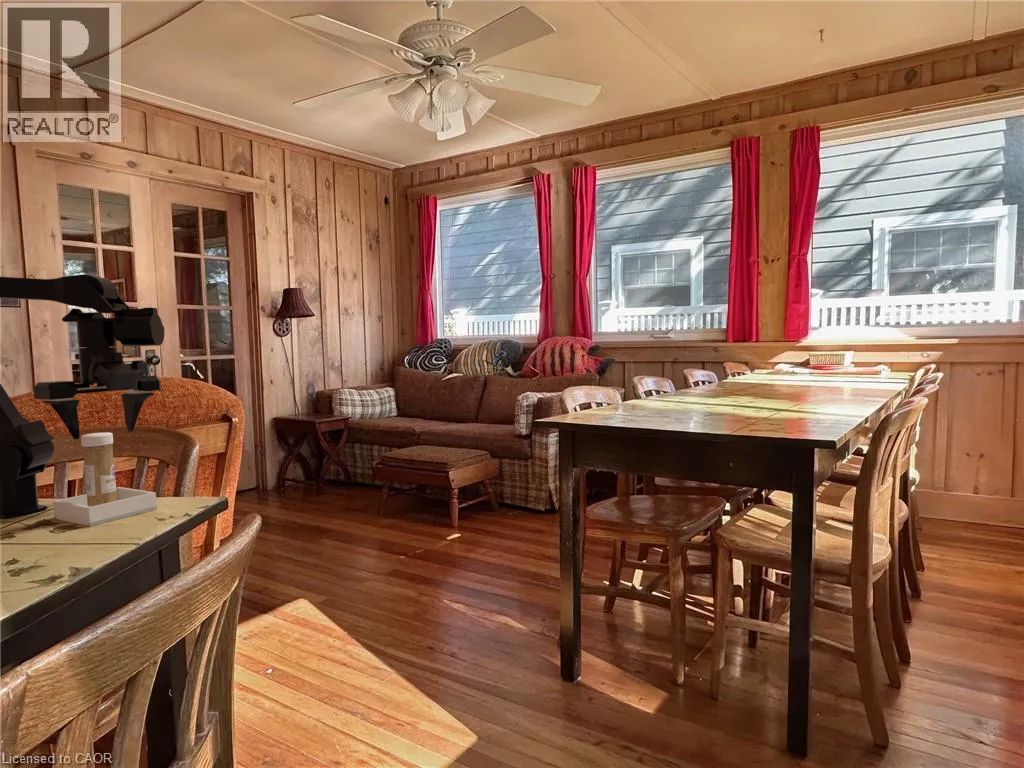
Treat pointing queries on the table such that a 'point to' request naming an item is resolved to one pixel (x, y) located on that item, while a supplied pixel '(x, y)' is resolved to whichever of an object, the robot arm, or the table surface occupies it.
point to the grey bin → (104, 507)
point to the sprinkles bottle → (99, 468)
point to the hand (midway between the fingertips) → (104, 435)
